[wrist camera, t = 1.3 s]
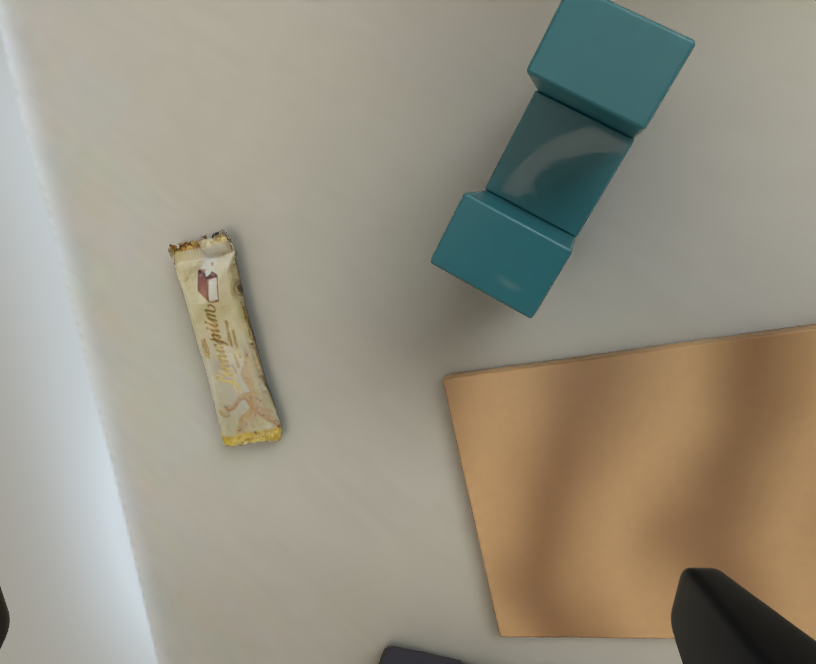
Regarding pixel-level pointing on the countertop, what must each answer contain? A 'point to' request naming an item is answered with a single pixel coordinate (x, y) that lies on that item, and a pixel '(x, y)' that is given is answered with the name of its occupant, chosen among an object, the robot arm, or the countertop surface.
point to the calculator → (412, 657)
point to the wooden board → (642, 480)
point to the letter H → (562, 149)
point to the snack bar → (226, 340)
